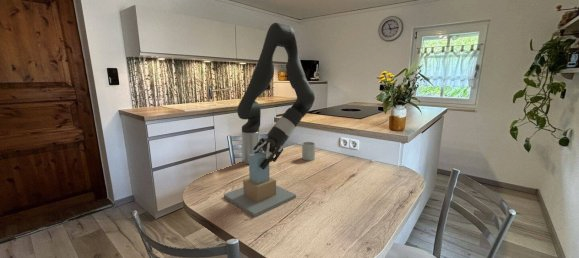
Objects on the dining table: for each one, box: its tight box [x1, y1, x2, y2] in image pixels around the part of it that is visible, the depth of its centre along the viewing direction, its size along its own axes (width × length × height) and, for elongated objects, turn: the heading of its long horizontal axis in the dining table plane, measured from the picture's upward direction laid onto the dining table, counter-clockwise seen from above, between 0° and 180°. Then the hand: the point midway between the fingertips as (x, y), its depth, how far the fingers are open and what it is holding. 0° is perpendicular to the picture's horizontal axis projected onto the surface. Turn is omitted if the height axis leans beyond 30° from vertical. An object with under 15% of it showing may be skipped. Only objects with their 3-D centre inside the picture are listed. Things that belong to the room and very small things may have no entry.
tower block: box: [248, 152, 271, 184], centre depth 97 cm, size 6×6×10 cm
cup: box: [301, 141, 316, 161], centre depth 145 cm, size 7×10×9 cm
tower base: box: [223, 177, 297, 218], centre depth 98 cm, size 20×20×7 cm
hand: (255, 164), depth 95 cm, fingers open, 8 cm apart
